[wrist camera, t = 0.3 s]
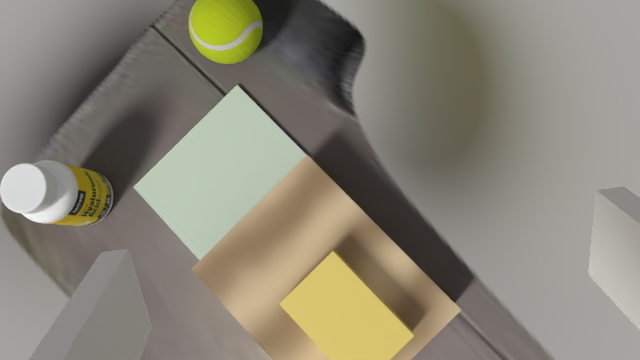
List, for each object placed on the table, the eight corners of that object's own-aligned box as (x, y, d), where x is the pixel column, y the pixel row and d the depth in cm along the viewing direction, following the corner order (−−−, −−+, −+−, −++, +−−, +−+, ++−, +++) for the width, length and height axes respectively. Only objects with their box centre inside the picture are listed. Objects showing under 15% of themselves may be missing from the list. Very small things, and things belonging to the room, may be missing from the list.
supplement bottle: (114, 225, 50) (52, 222, 41) (62, 226, 51) (-13, 223, 41) (116, 169, 51) (55, 153, 41) (64, 171, 52) (-8, 155, 42)
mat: (309, 157, 49) (308, 157, 49) (202, 262, 49) (201, 262, 49) (237, 85, 51) (237, 84, 50) (134, 187, 51) (133, 187, 50)
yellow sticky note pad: (412, 330, 42) (414, 335, 40) (359, 382, 42) (358, 390, 40) (334, 250, 44) (332, 250, 42) (283, 300, 44) (279, 303, 42)
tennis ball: (243, 86, 51) (223, 63, 44) (189, 50, 52) (161, 22, 45) (283, 30, 51) (269, -2, 44) (229, -5, 52) (207, -41, 45)
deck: (454, 303, 46) (461, 310, 42) (340, 415, 46) (337, 432, 42) (313, 161, 49) (307, 154, 45) (206, 266, 49) (191, 268, 45)
